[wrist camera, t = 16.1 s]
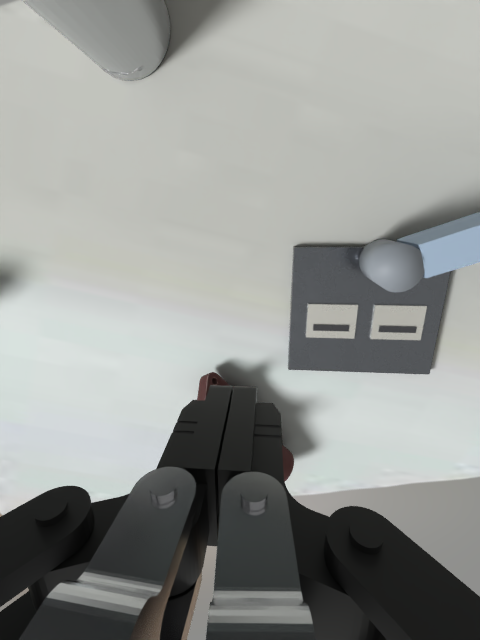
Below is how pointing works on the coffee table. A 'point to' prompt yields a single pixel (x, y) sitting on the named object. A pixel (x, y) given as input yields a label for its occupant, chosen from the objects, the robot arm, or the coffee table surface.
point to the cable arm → (422, 254)
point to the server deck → (359, 316)
